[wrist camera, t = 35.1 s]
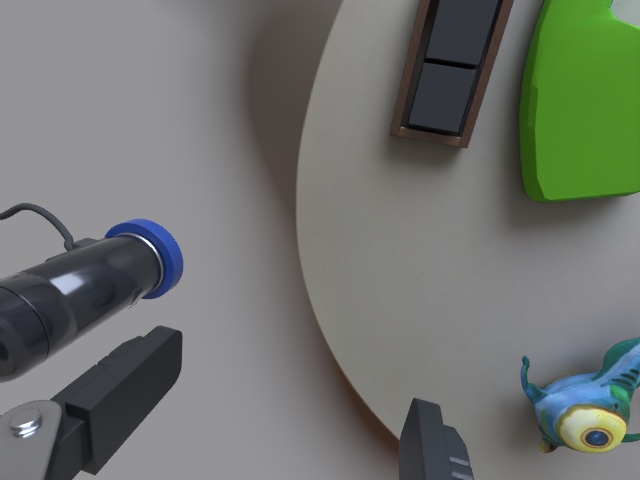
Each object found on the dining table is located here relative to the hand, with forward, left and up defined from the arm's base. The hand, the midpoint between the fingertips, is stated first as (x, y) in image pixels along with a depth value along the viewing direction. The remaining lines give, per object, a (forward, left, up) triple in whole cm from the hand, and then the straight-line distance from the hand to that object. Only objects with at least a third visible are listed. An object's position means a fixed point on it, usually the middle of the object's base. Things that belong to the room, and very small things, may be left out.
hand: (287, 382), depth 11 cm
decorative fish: (+27, -14, -27) cm, 40 cm away
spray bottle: (+16, +17, -27) cm, 36 cm away
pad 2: (+5, +12, -27) cm, 29 cm away
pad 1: (+5, +17, -27) cm, 32 cm away
